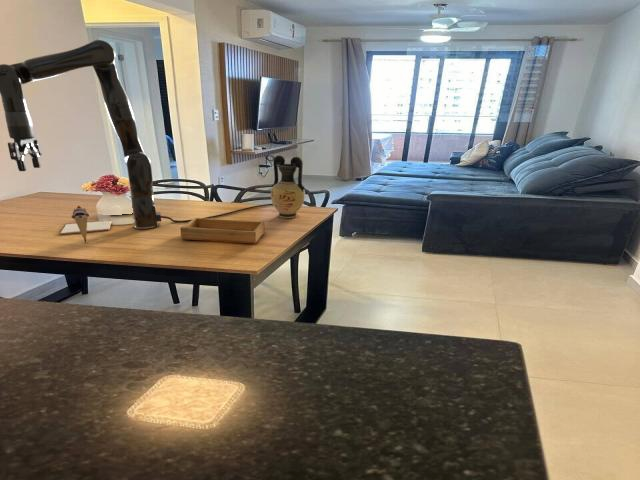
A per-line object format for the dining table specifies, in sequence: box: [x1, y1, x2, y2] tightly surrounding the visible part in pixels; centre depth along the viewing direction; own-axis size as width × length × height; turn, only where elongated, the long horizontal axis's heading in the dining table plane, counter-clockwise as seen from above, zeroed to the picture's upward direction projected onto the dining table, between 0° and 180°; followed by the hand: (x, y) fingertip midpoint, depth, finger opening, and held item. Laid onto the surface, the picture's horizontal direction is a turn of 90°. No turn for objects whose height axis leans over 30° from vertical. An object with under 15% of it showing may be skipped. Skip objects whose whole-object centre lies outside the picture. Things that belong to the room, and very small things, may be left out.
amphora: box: [270, 154, 306, 219], centre depth 189 cm, size 18×17×30 cm
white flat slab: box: [59, 220, 112, 236], centre depth 169 cm, size 18×16×1 cm
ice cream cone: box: [71, 205, 90, 244], centre depth 147 cm, size 6×6×15 cm
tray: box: [179, 217, 265, 245], centre depth 159 cm, size 31×15×6 cm, turn 85°
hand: (30, 169), depth 144 cm, fingers open, 8 cm apart
